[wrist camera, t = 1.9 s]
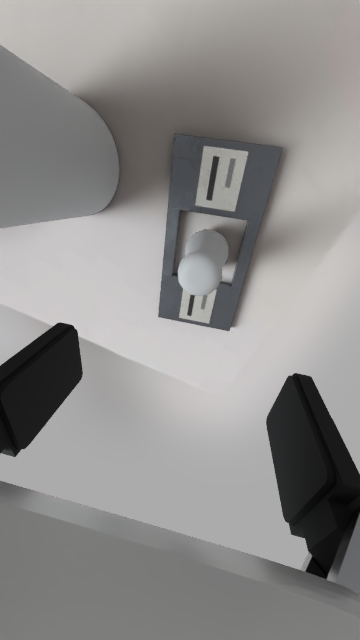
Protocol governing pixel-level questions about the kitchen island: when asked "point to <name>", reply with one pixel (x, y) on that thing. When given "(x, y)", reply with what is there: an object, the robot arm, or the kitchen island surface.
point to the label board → (215, 199)
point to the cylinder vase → (50, 150)
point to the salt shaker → (203, 262)
